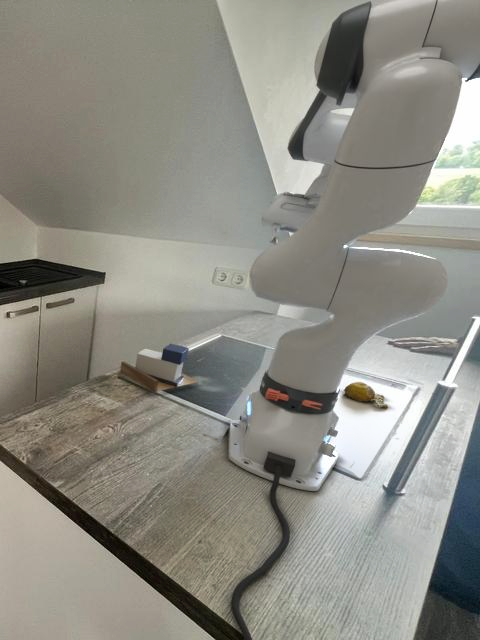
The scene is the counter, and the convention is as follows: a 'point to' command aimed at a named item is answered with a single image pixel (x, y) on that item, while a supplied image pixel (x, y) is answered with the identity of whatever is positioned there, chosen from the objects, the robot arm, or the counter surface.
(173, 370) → the white block blue cap
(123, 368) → the shoe shelf
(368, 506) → the counter surface
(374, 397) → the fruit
